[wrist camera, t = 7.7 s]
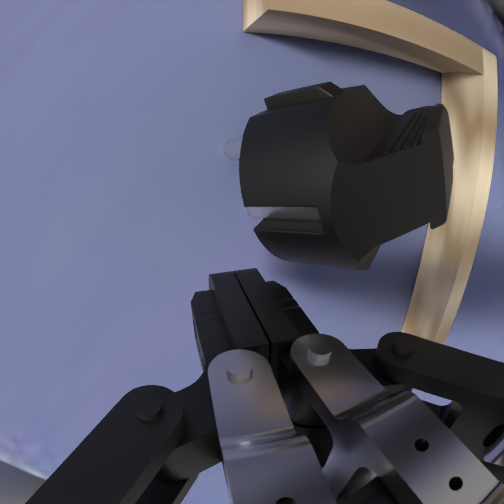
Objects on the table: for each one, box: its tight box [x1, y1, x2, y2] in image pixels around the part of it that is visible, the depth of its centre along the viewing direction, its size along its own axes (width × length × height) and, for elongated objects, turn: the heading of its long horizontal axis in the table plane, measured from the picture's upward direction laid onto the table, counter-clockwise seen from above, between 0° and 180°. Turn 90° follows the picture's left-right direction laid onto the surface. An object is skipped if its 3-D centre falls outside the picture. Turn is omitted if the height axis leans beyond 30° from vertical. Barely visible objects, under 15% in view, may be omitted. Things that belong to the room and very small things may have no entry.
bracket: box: [243, 0, 498, 345], centre depth 14 cm, size 21×12×3 cm, turn 0°
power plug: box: [223, 82, 454, 270], centre depth 12 cm, size 6×8×12 cm
